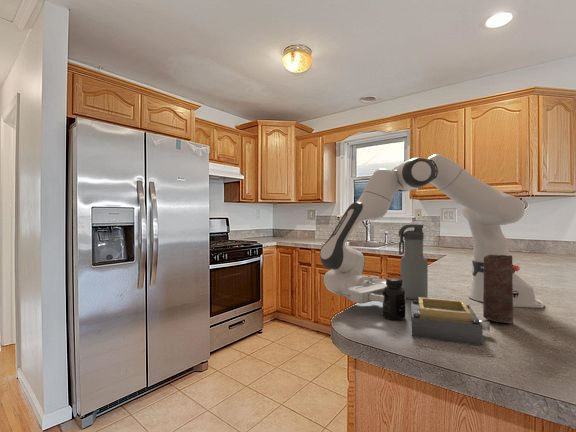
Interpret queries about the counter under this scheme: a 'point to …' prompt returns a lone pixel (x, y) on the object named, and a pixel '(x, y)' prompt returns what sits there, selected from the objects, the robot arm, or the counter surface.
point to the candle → (498, 288)
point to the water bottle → (413, 262)
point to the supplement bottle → (394, 300)
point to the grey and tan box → (446, 321)
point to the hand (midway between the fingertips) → (394, 296)
